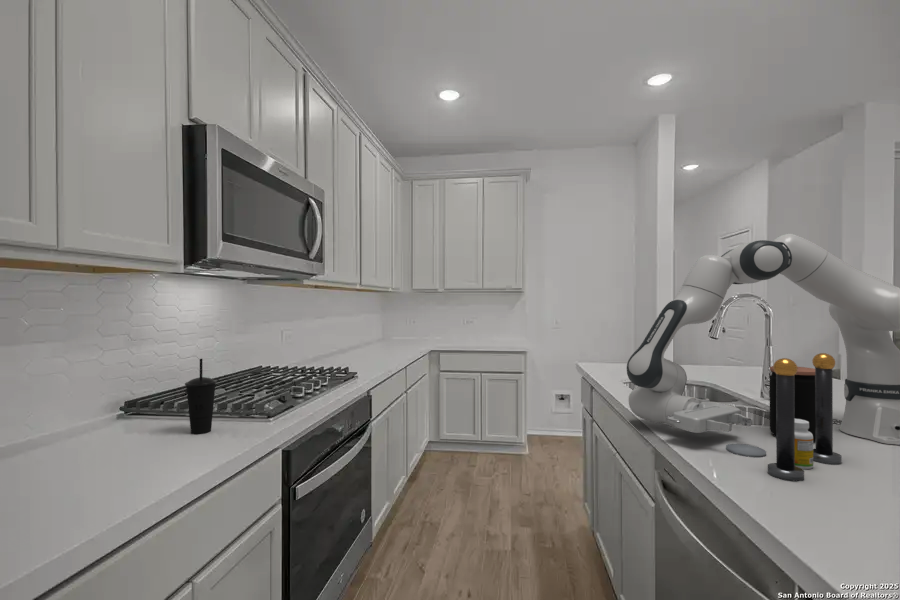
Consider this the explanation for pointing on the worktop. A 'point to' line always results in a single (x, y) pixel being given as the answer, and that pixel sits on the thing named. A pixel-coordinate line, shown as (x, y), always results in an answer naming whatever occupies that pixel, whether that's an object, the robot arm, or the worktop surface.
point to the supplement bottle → (803, 445)
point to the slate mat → (746, 450)
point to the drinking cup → (200, 403)
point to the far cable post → (824, 411)
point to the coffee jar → (797, 398)
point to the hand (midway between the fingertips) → (741, 425)
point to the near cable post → (785, 423)
